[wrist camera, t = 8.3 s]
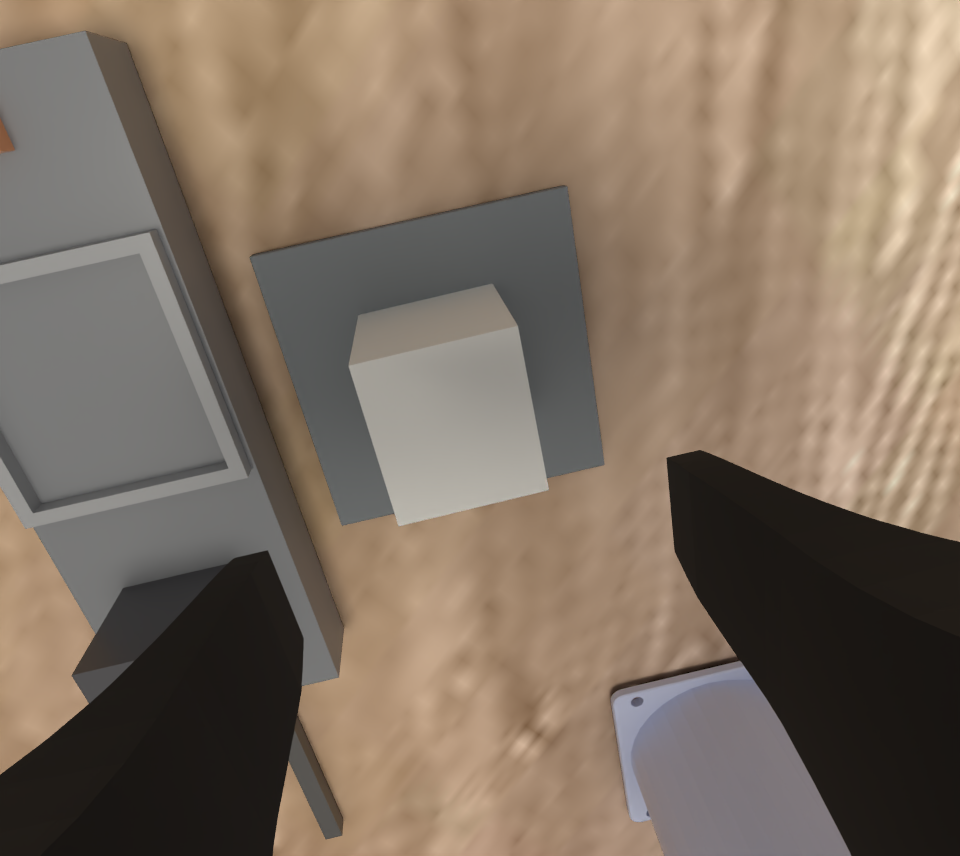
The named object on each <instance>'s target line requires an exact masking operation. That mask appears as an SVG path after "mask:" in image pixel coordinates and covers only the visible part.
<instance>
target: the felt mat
mask: <svg viewBox="0 0 960 856" xmlns="http://www.w3.org/2000/svg"><path fill="white" fill-rule="evenodd" d="M250 260H251V263H252V266H253V269H254V272H255V274H256V277H257V280H258V283H259V286H260V289H261V292H262V295H263V298H264V301H265V304H266V306H267V309H268V312H269V315H270V318H271V321H272V324H273V327H274V330H275V333H276V336H277V338H278V341H279V344H280V347H281V350H282V353H283V356H284V359H285V362H286V365H287V368H288V370H289V373H290V376H291V379H292V382H293V385H294V388H295V391H296V394H297V397H298V400H299V402H300V405H301V408H302V411H303V414H304V417H305V420H306V423H307V426H308V429H309V432H310V434H311V437H312V440H313V443H314V446H315V449H316V452H317V455H318V458H319V461H320V464H321V466H322V469H323V472H324V475H325V478H326V481H327V484H328V487H329V490H330V493H331V496H332V498H333V501H334V504H335V507H336V510H337V513H338V516H339V519H340V522H341V525H342V526H343V525H347V524H352V523H356V522H360V521H364V520H369V519H373V518H377V517H382V516H386V515H390V514H395V513H394V510H393V507H392V504H391V501H390V497H389V494H388V491H387V488H386V485H385V481H384V478H383V475H382V472H381V469H380V465H379V462H378V459H377V456H376V453H375V449H374V446H373V443H372V440H371V437H370V433H369V430H368V427H367V424H366V421H365V417H364V414H363V411H362V408H361V405H360V401H359V398H358V395H357V392H356V388H355V385H354V382H353V379H352V376H351V372H350V369H349V360H350V355H351V350H352V345H353V340H354V335H355V330H356V325H357V320H358V315H361V314H365V313H369V312H373V311H378V310H382V309H386V308H390V307H395V306H399V305H403V304H407V303H412V302H416V301H420V300H424V299H429V298H433V297H437V296H441V295H446V294H450V293H454V292H458V291H463V290H467V289H471V288H475V287H480V286H484V285H488V284H493V285H494V287H495V289H496V290H497V292H498V294H499V295H500V297H501V299H502V300H503V302H504V304H505V305H506V307H507V309H508V310H509V312H510V314H511V315H512V317H513V319H514V320H515V322H516V324H517V325H518V329H519V335H520V340H521V345H522V350H523V356H524V361H525V366H526V371H527V377H528V382H529V387H530V393H531V398H532V403H533V408H534V414H535V419H536V424H537V429H538V435H539V440H540V445H541V451H542V456H543V461H544V466H545V472H546V477H547V478H550V477H554V476H559V475H563V474H567V473H572V472H576V471H580V470H585V469H589V468H593V467H597V466H602V465H604V458H603V450H602V443H601V435H600V428H599V420H598V413H597V405H596V398H595V390H594V383H593V375H592V368H591V360H590V353H589V345H588V338H587V330H586V323H585V315H584V308H583V300H582V293H581V285H580V278H579V270H578V263H577V255H576V248H575V240H574V233H573V225H572V218H571V210H570V203H569V195H568V188H567V186H565V185H563V186H559V187H554V188H550V189H545V190H541V191H536V192H532V193H527V194H523V195H518V196H514V197H509V198H505V199H500V200H496V201H491V202H487V203H482V204H478V205H473V206H469V207H465V208H460V209H456V210H451V211H447V212H442V213H438V214H433V215H429V216H424V217H420V218H415V219H411V220H406V221H402V222H397V223H393V224H388V225H384V226H379V227H375V228H370V229H366V230H361V231H357V232H352V233H348V234H343V235H339V236H334V237H330V238H325V239H321V240H316V241H312V242H307V243H303V244H298V245H294V246H290V247H285V248H281V249H276V250H272V251H267V252H263V253H258V254H254V255H252V256H251V257H250Z"/></svg>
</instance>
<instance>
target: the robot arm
mask: <svg viewBox="0 0 960 856" xmlns="http://www.w3.org/2000/svg"><path fill="white" fill-rule="evenodd" d="M667 469H668V480H669V492H670V503H671V515H672V526H673V537H674V549H675V553H676V555H677V557H678V559H679V561H680V563H681V565H682V568H683V570H684V572H685V574H686V576H687V578H688V580H689V582H690V584H691V586H692V588H693V589H694V591H695V593H696V595H697V597H698V599H699V600H700V602H701V603H702V605H703V606H704V608H705V609H706V611H707V612H708V614H709V615H710V617H711V618H712V620H713V621H714V623H715V624H716V626H717V627H718V629H719V630H720V632H721V633H722V635H723V636H724V638H725V639H726V641H727V642H728V643H729V645H730V646H731V648H732V649H733V651H734V652H735V654H736V655H737V657H738V658H739V660H740V661H737V662H733V663H729V664H724V665H720V666H716V667H712V668H708V669H704V670H699V671H695V672H691V673H687V674H683V675H678V676H674V677H670V678H666V679H662V680H657V681H653V682H649V683H645V684H641V685H636V686H632V687H628V688H624V689H620V690H618V691H616V692H615V693H614V694H613V695H612V697H611V707H612V713H613V719H614V726H615V732H616V739H617V745H618V751H619V758H620V764H621V771H622V777H623V783H624V790H625V796H626V803H627V809H628V813H629V816H630V818H631V820H633V821H635V822H643V821H647V820H651V821H652V824H653V826H654V829H655V832H656V835H657V837H658V840H659V843H660V845H661V848H662V851H663V854H664V856H960V542H957V541H953V540H948V539H944V538H940V537H936V536H932V535H928V534H924V533H920V532H917V531H913V530H910V529H906V528H903V527H899V526H896V525H892V524H889V523H885V522H882V521H878V520H875V519H872V518H869V517H866V516H863V515H859V514H856V513H854V512H851V511H848V510H845V509H843V508H840V507H837V506H834V505H831V504H829V503H826V502H823V501H820V500H818V499H815V498H813V497H810V496H808V495H805V494H803V493H800V492H798V491H795V490H793V489H790V488H788V487H786V486H783V485H781V484H778V483H776V482H774V481H771V480H769V479H767V478H765V477H762V476H760V475H758V474H755V473H753V472H751V471H749V470H746V469H744V468H742V467H740V466H737V465H735V464H733V463H731V462H728V461H726V460H724V459H722V458H719V457H717V456H714V455H712V454H709V453H707V452H704V451H701V450H698V451H694V452H689V453H685V454H681V455H677V456H672V457H668V458H667ZM303 650H304V637H303V635H302V632H301V630H300V628H299V625H298V623H297V620H296V618H295V615H294V613H293V610H292V608H291V606H290V603H289V601H288V598H287V596H286V593H285V591H284V588H283V586H282V584H281V581H280V579H279V576H278V574H277V571H276V569H275V566H274V564H273V561H272V559H271V557H270V554H269V552H268V550H267V551H262V552H258V553H254V554H249V555H245V556H241V557H236V558H233V559H232V560H231V561H230V562H229V563H228V564H227V565H226V566H225V567H224V568H223V569H222V570H221V571H220V572H219V573H218V574H217V575H216V576H215V577H214V578H213V579H212V580H211V581H210V582H209V583H208V584H207V586H206V587H205V588H204V589H203V590H202V591H201V592H200V593H199V594H198V595H197V596H196V597H195V598H194V600H193V601H192V602H191V603H190V604H189V605H188V606H187V607H186V608H185V609H184V610H183V611H182V612H181V613H180V615H179V616H178V617H177V618H176V619H175V620H174V621H173V622H172V623H171V624H170V625H169V626H168V627H167V628H166V630H165V631H164V632H163V633H162V634H161V635H160V636H159V637H158V638H157V639H156V640H155V641H154V642H153V643H152V644H151V645H150V646H149V647H148V648H147V649H146V650H145V651H144V652H143V653H142V654H141V655H140V656H139V657H138V658H137V659H136V660H135V661H134V662H133V663H132V664H131V665H130V666H129V667H128V668H127V669H126V670H125V671H124V672H123V673H122V674H121V675H120V676H119V677H118V678H117V679H116V680H115V681H114V682H112V683H111V684H110V685H109V686H108V687H107V688H106V689H105V690H104V691H103V692H102V693H101V694H99V695H98V696H97V697H96V698H95V699H94V700H93V701H92V702H91V703H89V704H88V705H87V706H86V707H85V708H84V709H83V710H81V711H80V712H79V713H78V714H77V715H75V716H74V717H73V718H72V719H71V720H70V721H68V722H67V723H66V724H65V725H64V726H62V727H61V728H60V729H59V730H58V731H57V732H55V733H54V734H53V735H52V736H50V737H49V738H48V739H47V740H45V741H44V742H43V743H42V744H40V745H39V746H38V747H36V748H35V749H34V750H32V751H31V752H30V753H28V754H27V755H26V756H25V757H23V758H22V759H21V760H19V761H18V762H17V763H15V764H14V765H13V766H11V767H10V768H9V769H7V770H6V771H5V772H3V773H2V774H1V775H0V856H273V845H274V838H275V832H276V825H277V818H278V813H279V807H280V802H281V797H282V792H283V787H284V781H285V776H286V771H287V766H288V761H289V755H290V750H291V745H292V740H293V735H294V729H295V724H296V719H297V713H298V708H299V702H300V696H301V689H302V674H303ZM636 697H638V698H636ZM634 698H636V699H634Z"/></svg>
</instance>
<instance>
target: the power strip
mask: <svg viewBox="0 0 960 856" xmlns="http://www.w3.org/2000/svg"><path fill="white" fill-rule="evenodd" d="M0 487H1V488H2V490H3V492H4V493H5V495H6V497H7V499H8V500H9V502H10V504H11V505H12V507H13V509H14V510H15V512H16V514H17V515H18V517H19V519H20V521H21V522H22V524H23V526H24V527H25V529H27V528H32V527H33V528H34V530H35V531H36V533H37V535H38V536H39V538H40V540H41V542H42V543H43V545H44V547H45V548H46V550H47V552H48V554H49V555H50V557H51V559H52V560H53V562H54V564H55V566H56V567H57V569H58V571H59V572H60V574H61V576H62V578H63V579H64V581H65V583H66V584H67V586H68V588H69V589H70V591H71V593H72V595H73V596H74V598H75V600H76V601H77V603H78V605H79V607H80V608H81V610H82V612H83V613H84V615H85V617H86V619H87V620H88V622H89V624H90V625H91V627H92V629H93V631H94V632H95V634H96V635H95V636H94V638H93V640H92V642H91V643H90V645H89V647H88V648H87V650H86V652H85V654H84V655H83V657H82V659H81V660H80V662H79V664H78V665H77V667H76V669H75V671H74V672H73V674H72V677H73V678H74V680H75V682H76V683H77V685H78V686H79V688H80V690H81V691H82V693H83V694H84V696H85V698H86V699H87V701H88V702H89V703H91V702H92V701H93V700H94V699H95V698H96V697H97V696H98V695H99V694H101V693H102V692H103V691H104V690H105V689H106V688H107V687H108V686H109V685H110V684H111V683H112V682H114V681H115V680H116V679H117V678H118V677H119V676H120V675H121V674H122V673H123V672H124V671H125V670H126V669H127V668H128V667H129V666H130V665H131V664H132V663H133V662H134V661H135V660H136V659H137V658H138V657H139V656H140V655H141V654H142V653H143V652H144V651H145V650H146V649H147V648H148V647H149V646H150V645H151V644H152V643H153V642H154V641H155V640H156V639H157V638H158V637H159V636H160V635H161V634H162V633H163V632H164V631H165V630H166V628H167V627H168V626H169V625H170V624H171V623H172V622H173V621H174V620H175V619H176V618H177V617H178V616H179V615H180V613H181V612H182V611H183V610H184V609H185V608H186V607H187V606H188V605H189V604H190V603H191V602H192V601H193V600H194V598H195V597H196V596H197V595H198V594H199V593H200V592H201V591H202V590H203V589H204V588H205V587H206V586H207V584H208V583H209V582H210V581H211V580H212V579H213V578H214V577H215V576H216V575H217V574H218V573H219V572H220V571H221V570H222V569H223V568H224V567H225V566H226V565H227V564H228V563H229V562H230V561H231V560H232V559H233V558H236V557H241V556H245V555H249V554H254V553H258V552H262V551H267V550H268V552H269V554H270V557H271V559H272V561H273V564H274V566H275V569H276V571H277V574H278V576H279V579H280V581H281V584H282V586H283V588H284V591H285V593H286V596H287V598H288V601H289V603H290V606H291V608H292V610H293V613H294V615H295V618H296V620H297V623H298V625H299V628H300V630H301V632H302V635H303V637H304V650H303V674H302V686H305V685H309V684H313V683H317V682H322V681H326V680H330V679H334V678H338V677H339V672H340V662H341V652H342V643H343V633H344V627H343V624H342V622H341V619H340V616H339V614H338V611H337V608H336V606H335V603H334V600H333V597H332V595H331V592H330V589H329V587H328V584H327V581H326V579H325V576H324V573H323V571H322V568H321V565H320V563H319V560H318V557H317V554H316V552H315V549H314V546H313V544H312V541H311V538H310V536H309V533H308V530H307V528H306V525H305V522H304V519H303V517H302V514H301V511H300V509H299V506H298V503H297V501H296V498H295V495H294V493H293V490H292V487H291V485H290V482H289V479H288V476H287V474H286V471H285V468H284V466H283V463H282V460H281V458H280V455H279V452H278V450H277V447H276V444H275V442H274V439H273V436H272V433H271V431H270V428H269V425H268V423H267V420H266V417H265V415H264V412H263V409H262V407H261V404H260V401H259V398H258V396H257V393H256V390H255V388H254V385H253V382H252V380H251V377H250V374H249V372H248V369H247V366H246V364H245V361H244V358H243V355H242V353H241V350H240V347H239V345H238V342H237V339H236V337H235V334H234V331H233V329H232V326H231V323H230V320H229V318H228V315H227V312H226V310H225V307H224V304H223V302H222V299H221V296H220V294H219V291H218V288H217V286H216V283H215V280H214V277H213V275H212V272H211V269H210V267H209V264H208V261H207V259H206V256H205V253H204V251H203V248H202V245H201V243H200V240H199V237H198V234H197V232H196V229H195V226H194V224H193V221H192V218H191V216H190V213H189V210H188V208H187V205H186V202H185V199H184V197H183V194H182V191H181V189H180V186H179V183H178V181H177V178H176V175H175V173H174V170H173V167H172V165H171V162H170V159H169V156H168V154H167V151H166V148H165V146H164V143H163V140H162V138H161V135H160V132H159V130H158V127H157V124H156V121H155V119H154V116H153V113H152V111H151V108H150V105H149V103H148V100H147V97H146V95H145V92H144V89H143V87H142V84H141V81H140V78H139V76H138V73H137V70H136V68H135V65H134V62H133V60H132V57H131V54H130V52H129V49H128V46H127V44H126V43H124V42H121V41H118V40H114V39H111V38H108V37H104V36H101V35H98V34H94V33H91V32H87V31H82V32H77V33H73V34H68V35H63V36H59V37H54V38H49V39H45V40H40V41H36V42H31V43H26V44H22V45H17V46H12V47H8V48H3V49H0ZM289 762H290V765H291V767H292V769H293V771H294V773H295V775H296V777H297V779H298V782H299V784H300V786H301V788H302V790H303V792H304V794H305V796H306V798H307V801H308V803H309V805H310V807H311V809H312V811H313V813H314V815H315V818H316V820H317V822H318V824H319V826H320V828H321V830H322V832H323V835H324V837H325V839H330V838H334V837H338V836H342V831H343V818H342V816H341V813H340V811H339V809H338V807H337V804H336V802H335V800H334V798H333V795H332V793H331V791H330V789H329V786H328V784H327V782H326V780H325V777H324V775H323V773H322V771H321V768H320V766H319V764H318V762H317V759H316V757H315V755H314V753H313V750H312V748H311V746H310V744H309V741H308V739H307V737H306V735H305V732H304V730H303V728H302V726H301V723H300V721H299V719H298V717H297V719H296V724H295V729H294V735H293V740H292V745H291V750H290V755H289Z"/></svg>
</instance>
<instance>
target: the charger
mask: <svg viewBox="0 0 960 856" xmlns="http://www.w3.org/2000/svg"><path fill="white" fill-rule="evenodd" d="M349 369H350V372H351V376H352V379H353V382H354V385H355V388H356V392H357V395H358V398H359V401H360V405H361V408H362V411H363V414H364V417H365V421H366V424H367V427H368V430H369V433H370V437H371V440H372V443H373V446H374V449H375V453H376V456H377V459H378V462H379V465H380V469H381V472H382V475H383V478H384V481H385V485H386V488H387V491H388V494H389V497H390V501H391V504H392V507H393V510H394V513H395V517H396V520H397V523H398V526H402V525H406V524H411V523H415V522H419V521H423V520H427V519H431V518H435V517H440V516H444V515H448V514H452V513H456V512H460V511H464V510H469V509H473V508H477V507H481V506H485V505H489V504H494V503H498V502H502V501H506V500H510V499H514V498H518V497H523V496H527V495H531V494H535V493H539V492H543V491H548V490H549V488H548V482H547V477H546V472H545V466H544V461H543V456H542V451H541V445H540V440H539V435H538V429H537V424H536V419H535V414H534V408H533V403H532V398H531V393H530V387H529V382H528V377H527V371H526V366H525V361H524V356H523V350H522V345H521V340H520V335H519V329H518V325H517V324H516V322H515V320H514V319H513V317H512V315H511V314H510V312H509V310H508V309H507V307H506V305H505V304H504V302H503V300H502V299H501V297H500V295H499V294H498V292H497V290H496V289H495V287H494V285H493V284H488V285H484V286H480V287H475V288H471V289H467V290H463V291H458V292H454V293H450V294H446V295H441V296H437V297H433V298H429V299H424V300H420V301H416V302H412V303H407V304H403V305H399V306H395V307H390V308H386V309H382V310H378V311H373V312H369V313H365V314H361V315H358V320H357V325H356V330H355V335H354V340H353V345H352V350H351V355H350V360H349Z"/></svg>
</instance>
